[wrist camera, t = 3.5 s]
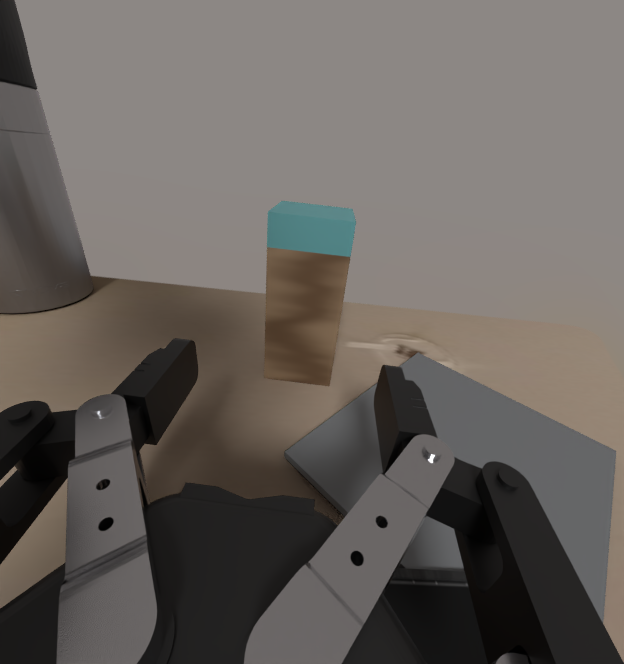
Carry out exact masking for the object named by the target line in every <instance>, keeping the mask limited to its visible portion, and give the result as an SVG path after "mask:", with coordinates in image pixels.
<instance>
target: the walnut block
mask: <svg viewBox="0 0 624 664" xmlns="http://www.w3.org/2000/svg"><path fill="white" fill-rule="evenodd" d="M355 225H356V221H355V216H354V213H353V209H348V208H340V207H331V206H323V205H313V204H305V203H297V202H288V201H281V202H280V203H279V204H278V205H276V206H275V207H273V208H272V209H271V210H270V211H268V232H267V277H266V321H265V366H264V378H268V379H276V380H284V381H292V382H300V383H308V384H316V385H324V386H329V385H330V378H331V372H332V366H333V360H334V354H335V348H336V342H337V336H338V329H339V323H340V317H341V311H342V305H343V298H344V293H345V286H346V280H347V274H348V268H349V262H350V256H351V250H352V244H353V238H354V230H355Z"/></svg>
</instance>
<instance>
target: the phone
mask: <svg viewBox="0 0 624 664" xmlns="http://www.w3.org/2000/svg"><path fill="white" fill-rule="evenodd" d="M383 595H384V596H385V598H386V600H387V601H388V603H389V604H390V606H391V608H392V609H393V611H394V612H395V614H396V615H397V617H398V619H399V620H400V622H401V623H402V625H403V627H404V628H405V630H406V631H407V633H408V635H409V636H410V638H411V639H412V641H413V642H414V644H415V646H416V647H417V649H418V650H419V652H420V654H421V655H422V657H423V658H424V660H425V661H426V663H427V664H488V662H487V658H486V654H485V650H484V646H483V642H482V638H481V634H480V630H479V626H478V622H477V618H476V614H475V610H474V607H473V603H472V599H471V595H470V591H469V587H468V583H467V579H466V575H465V571H449V570H428V569H406V568H398V569H397V571H396V573H395V574H394V576H393V578H392V580H391V582H390V584H389V585H388V587H387V589H386V591H385V593H384V594H383Z"/></svg>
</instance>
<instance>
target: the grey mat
mask: <svg viewBox="0 0 624 664" xmlns="http://www.w3.org/2000/svg"><path fill="white" fill-rule="evenodd" d="M399 367H401V368H402V370H403V373H404V376H405V380H412V381H414V382H415V384H416V385H417V386H418V387H419V388H420V389H421V391H422V394H423V397H424V401H425V403H426V406H427V409H428V411H429V414H430V417H431V420H432V423H433V425H434V428H435V431H436V434H437V437H438V439H440V440H442V441H443V442H444V443H445V444H447V445H448V447H449V448H450V449H451V451H452V452H453V455H454V457H456V458H458V459H459V460H462V461H464V462H466V463H469V464H472V465H474V466H477V467H479V468H483V466H484V465H485V464H486V463H488V462H491V461H497V462H502V463H505V464H507V465H509V466H511V467H513V468H514V469H516V470H517V471H519V472H520V473H521V474H522V475H523V476H524V477H525V478H526V479H527V480H528V482H529V483H530V485H531V487H532V489H533V491H534V492H535V494H536V496H537V498H538V500H539V502H540V504H541V506H542V508H543V510H544V512H545V513H546V515H547V517H548V519H549V521H550V523H551V525H552V527H553V529H554V531H555V533H556V535H557V536H558V538H559V540H560V542H561V544H562V546H563V548H564V550H565V552H566V554H567V556H568V558H569V559H570V561H571V563H572V565H573V567H574V569H575V571H576V573H577V575H578V577H579V579H580V581H581V582H582V584H583V586H584V588H585V590H586V592H587V594H588V596H589V598H590V600H591V602H592V603H593V605H594V607H595V609H596V611H597V613H598V615H599V617H600V619H601V621H602V623H603V619H604V605H605V592H606V579H607V566H608V552H609V539H610V526H611V513H612V499H613V486H614V473H615V459H616V451H615V450H613V449H611V448H609V447H607V446H605V445H603V444H601V443H599V442H597V441H595V440H593V439H591V438H589V437H587V436H585V435H583V434H581V433H579V432H577V431H575V430H573V429H571V428H569V427H567V426H565V425H563V424H561V423H559V422H557V421H555V420H553V419H551V418H549V417H547V416H545V415H543V414H541V413H539V412H537V411H535V410H533V409H531V408H529V407H527V406H525V405H523V404H521V403H518V402H516V401H514V400H512V399H510V398H508V397H506V396H504V395H502V394H500V393H498V392H496V391H494V390H492V389H490V388H488V387H486V386H484V385H482V384H480V383H478V382H476V381H474V380H472V379H470V378H468V377H466V376H464V375H462V374H460V373H458V372H456V371H454V370H452V369H450V368H448V367H446V366H444V365H442V364H440V363H438V362H436V361H434V360H432V359H430V358H428V357H426V356H424V355H422V354H420V353H417V354H415V355H414V356H413V357H411V358H410V359H409V360H407V361H406V362H405V363H403V364H402V365H401V366H399ZM376 387H377V383H376V384H375V385H374V386H372V387H371V388H370V389H368V390H367V391H366V392H364V393H363V394H362V395H360V396H359V397H358V398H356V399H355V400H354V401H352V402H351V403H349V404H348V405H347V406H345V407H344V408H343V409H341V410H340V411H339V412H337V413H336V414H335V415H333V416H332V417H331V418H329V419H328V420H327V421H325V422H324V423H323V424H321V425H320V426H319V427H317V428H316V429H314V430H313V431H312V432H310V433H309V434H308V435H306V436H305V437H304V438H302V439H301V440H300V441H298V442H297V443H296V444H294V445H293V446H292V447H290V448H289V449H288V450H286V451H285V455H284V457H285V458H286V459H287V460H288V461H289V462H290V463H291V464H292V465H293V466H294V467H295V468H296V469H297V470H298V471H299V472H300V473H301V474H302V475H303V476H304V477H305V478H306V479H307V480H308V481H309V482H310V483H311V484H312V485H313V486H314V487H315V488H316V489H317V490H318V491H319V492H320V493H321V494H322V495H323V496H324V497H325V498H326V499H327V500H328V501H329V502H330V503H331V504H332V505H333V506H334V507H335V508H336V509H337V510H338V511H339V512H341V513H342V514H343V515H344V516H345V517H346V515H347V514H348V513H349V512H350V510H351V509H352V508H353V507H354V505H355V504H356V503H357V502H358V500H359V499H360V498H361V497H362V495H363V494H364V493H365V492H366V490H367V489H368V488H369V487H370V485H371V484H372V483H373V482H374V480H375V479H376V478H377V477H378V475H379V474H381V473H383V469H382V462H381V455H380V448H379V441H378V434H377V426H376V419H375V412H374V395H375V390H376ZM398 568H406V569H428V570H449V571H464V567H463V563H462V559H461V555H460V551H459V547H458V543H457V539H456V535H455V531H454V529H453V528H451V527H449V526H447V525H445V524H443V523H440V522H438V521H436V520H434V519H432V518H430V517H428V516H426V518H425V520H424V522H423V523H422V525H421V527H420V529H419V531H418V532H417V534H416V536H415V538H414V540H413V541H412V543H411V545H410V547H409V549H408V550H407V552H406V554H405V556H404V558H403V560H402V561H401V563H400V565H399V567H398Z"/></svg>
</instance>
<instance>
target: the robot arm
mask: <svg viewBox="0 0 624 664" xmlns="http://www.w3.org/2000/svg"><path fill="white" fill-rule="evenodd" d="M36 89H37V86H36V83H35V79H34V76H33V72H32V68H31V65H30V60H29V56H28V51H27V46H26V42H25V38H24V34H23V30H22V27H21V23H20V19H19V15H18V12H17V8H16V4H15V1H14V0H0V313H26V312H36V311H42V310H48V309H53V308H57V307H61V306H64V305H67V304H71V303H73V302H76V301H78V300H80V299H82V298H84V297H86V296H87V295H89V294H90V293H91V292H92V290H93V283H92V279H91V276H90V273H89V269H88V265H87V262H86V258H85V255H84V250H83V247H82V243H81V240H80V236H79V233H78V230H77V226H76V222H75V219H74V215H73V212H72V208H71V205H70V201H69V198H68V194H67V191H66V187H65V184H64V180H63V176H62V173H61V169H60V166H59V163H58V159H57V156H56V152H55V148H54V145H53V141H52V138H51V135H50V132H49V129H48V125H47V121H46V117H45V114H44V110H43V107H42V103H41V100H40V97H39V93H38V91H37V90H36ZM197 377H198V364H197V355H196V346H195V342H194V341H193V340H185V339H177V338H175V339H173V340H172V341H171V342H170V343H169V344H168V345H167V347H166V348H165V349H162V348H160V349H158V350H156V351H154V352H153V353H151V354H149V355H148V356H147V357H146V358H145V359H144V360H143V361H142V362H141V364H139V365H138V366H137V367H136V368H135V371H133V372H132V373H131V374H130V375H129V376H128V377H127V378H126V379H125V380H124V381H123V382H122V383H121V384H120V385H119V386H118V387H117V388H116V389H115V390H114V391H113V392H112V393H111V394H106V395H101V396H97V397H95V398H92V399H90V400H88V401H87V402H85V403H84V404H83V405H81V406H80V407H79V409H78V410H71V411H61V412H51V410H50V408H49V406H48V405H47V404H46V403H45V402H42V401H28V402H23V403H20V404H17V405H14V406H12V407H9V408H7V409H5V410H4V411H2V412H1V413H0V480H1V479H2V478H3V477H4V476H5V475H6V474H7V473H8V472H9V471H10V470H11V469H12V468H13V467H14V466H15V467H16V469H17V471H16V472H15V473H14V474H13V475H12V476H11V477H10V478H9V479H8V480H7V481H6V482H5V483H4V484H3V485H2V486H1V487H0V564H1V563H2V562H3V560H4V559H5V558H6V557H7V555H8V554H9V553H10V551H11V550H12V549H13V548H14V546H15V545H16V544H17V542H18V541H19V540H20V539H21V537H22V536H23V535H24V533H25V532H26V531H27V529H28V528H29V527H30V526H31V524H32V523H33V522H34V520H35V519H36V518H37V517H38V515H39V514H40V513H41V511H42V510H43V509H44V507H45V506H46V505H47V504H48V502H49V501H50V500H51V498H52V497H53V496H54V495H55V493H56V492H57V491H58V489H59V488H60V487H61V485H62V484H63V483H64V482H65V480H66V479H67V478H68V490H67V527H66V562H65V563H64V564H63V565H61V566H60V567H58V568H57V569H56V570H54V571H53V572H51V573H50V574H49V575H47V576H46V577H44V578H43V579H41V580H40V581H39V582H37V583H36V584H34V585H33V586H32V587H30V588H29V589H27V590H26V591H25V592H23V593H22V594H20V595H19V596H18V597H16V598H15V599H13V600H12V601H11V602H9V603H8V604H6V605H5V606H4V607H2V608H1V609H0V664H427V663H426V661H425V660H424V658H423V657H422V655H421V654H420V652H419V650H418V649H417V647H416V646H415V644H414V642H413V641H412V639H411V638H410V636H409V635H408V633H407V631H406V630H405V628H404V627H403V625H402V623H401V622H400V620H399V619H398V617H397V615H396V614H395V612H394V611H393V609H392V608H391V606H390V604H389V603H388V601H387V600H386V598H385V596H384V595H383V594H384V593H385V591H386V589H387V587H388V585H389V584H390V582H391V580H392V578H393V576H394V574H395V573H396V571H397V569H398V567H399V565H400V563H401V561H402V560H403V558H404V556H405V554H406V552H407V550H408V549H409V547H410V545H411V543H412V541H413V540H414V538H415V536H416V534H417V532H418V531H419V529H420V527H421V525H422V523H423V522H424V520H425V518H426V516H428V517H430V518H432V519H434V520H436V521H438V522H440V523H443V524H445V525H447V526H449V527H451V528H453V529H454V531H455V535H456V539H457V543H458V547H459V551H460V555H461V559H462V563H463V567H464V571H465V575H466V579H467V583H468V587H469V591H470V595H471V599H472V603H473V607H474V610H475V614H476V618H477V622H478V626H479V630H480V634H481V638H482V642H483V646H484V650H485V654H486V658H487V662H488V664H624V663H623V661H622V659H621V657H620V655H619V653H618V651H617V649H616V648H615V646H614V644H613V642H612V640H611V638H610V636H609V634H608V632H607V630H606V628H605V626H604V625H603V623H602V621H601V619H600V617H599V615H598V613H597V611H596V609H595V607H594V605H593V603H592V602H591V600H590V598H589V596H588V594H587V592H586V590H585V588H584V586H583V584H582V582H581V581H580V579H579V577H578V575H577V573H576V571H575V569H574V567H573V565H572V563H571V561H570V559H569V558H568V556H567V554H566V552H565V550H564V548H563V546H562V544H561V542H560V540H559V538H558V536H557V535H556V533H555V531H554V529H553V527H552V525H551V523H550V521H549V519H548V517H547V515H546V513H545V512H544V510H543V508H542V506H541V504H540V502H539V500H538V498H537V496H536V494H535V492H534V491H533V489H532V487H531V485H530V483H529V482H528V480H527V479H526V478H525V477H524V476H523V475H522V474H521V473H520V472H519V471H517V470H516V469H514V468H513V467H511V466H509V465H507V464H505V463H502V462H497V461H491V462H488V463H486V464H485V465H484V466H483V468H479V467H477V466H474V465H472V464H469V463H466V462H464V461H462V460H459V459H458V458H456V457H454V455H453V452H452V451H451V449H450V448H449V447H448V445H447V444H445V443H444V442H443V441H442V440H440V439H438V437H437V434H436V431H435V428H434V425H433V423H432V420H431V417H430V414H429V411H428V409H427V406H426V403H425V401H424V397H423V394H422V391H421V389H420V388H419V387H418V386H417V385H416V384H415V382H414V381H412V380H405V376H404V373H403V370H402V368H401V367H396V366H388V365H383V366H382V368H381V372H380V375H379V379H378V383H377V387H376V390H375V395H374V412H375V419H376V426H377V434H378V441H379V448H380V455H381V462H382V469H383V473H381V474H379V475H378V477H377V478H376V479H375V480H374V482H373V483H372V484H371V485H370V487H369V488H368V489H367V490H366V492H365V493H364V494H363V495H362V497H361V498H360V499H359V500H358V502H357V503H356V504H355V505H354V507H353V508H352V509H351V510H350V512H349V513H348V514H347V515H346V517H345V518H344V519H343V520H342V522H341V523H340V524H339V525H338V526H337V525H336V524H335V523H334V522H333V521H332V520H330V519H329V518H328V517H326V516H324V515H323V514H321V513H319V512H317V511H315V510H314V502H315V500H314V499H306V498H299V497H291V496H284V495H282V496H274V497H266V498H257V499H245V498H243V497H240V496H238V495H236V494H233V493H231V492H229V491H226V490H224V489H222V488H219V487H216V486H209V485H201V484H194V483H185V486H184V488H183V490H182V492H181V493H178V494H173V495H169V496H166V497H163V498H160V499H158V500H156V501H154V502H152V503H150V499H149V495H148V490H147V484H146V479H145V474H144V469H143V464H142V458H141V454H140V449H141V448H142V446H143V445H144V443H145V444H152V445H157V443H158V442H159V440H160V438H161V437H162V435H163V434H164V432H165V431H166V429H167V427H168V426H169V424H170V423H171V421H172V419H173V418H174V416H175V415H176V413H177V412H178V410H179V408H180V407H181V405H182V404H183V402H184V401H185V399H186V397H187V396H188V394H189V393H190V391H191V389H192V388H193V386H194V385H195V383H196V380H197Z"/></svg>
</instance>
